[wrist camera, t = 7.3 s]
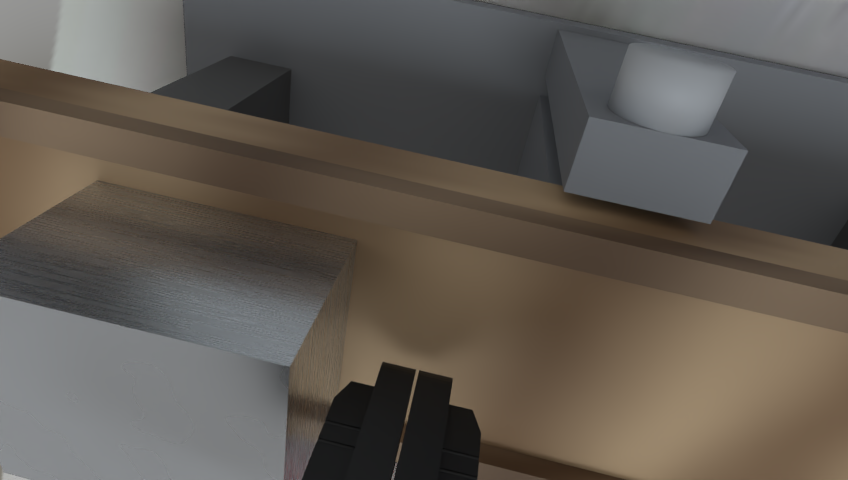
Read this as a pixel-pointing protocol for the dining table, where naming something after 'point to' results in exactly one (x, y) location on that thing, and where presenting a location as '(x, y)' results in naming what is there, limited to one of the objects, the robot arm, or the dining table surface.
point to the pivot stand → (539, 103)
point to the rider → (167, 340)
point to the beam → (497, 286)
